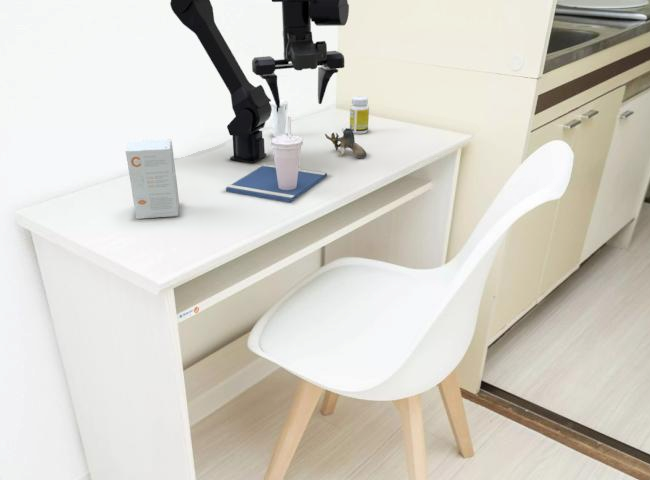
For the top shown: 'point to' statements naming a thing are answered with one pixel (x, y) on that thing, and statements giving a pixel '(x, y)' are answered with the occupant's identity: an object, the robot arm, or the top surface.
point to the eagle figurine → (347, 143)
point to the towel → (274, 184)
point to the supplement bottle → (359, 115)
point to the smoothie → (287, 158)
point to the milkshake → (279, 117)
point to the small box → (153, 178)
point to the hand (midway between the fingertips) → (299, 105)
